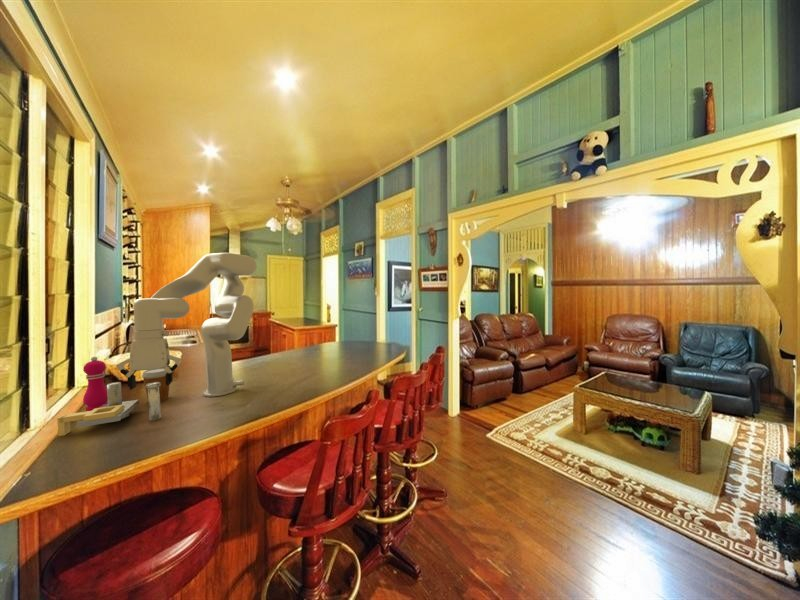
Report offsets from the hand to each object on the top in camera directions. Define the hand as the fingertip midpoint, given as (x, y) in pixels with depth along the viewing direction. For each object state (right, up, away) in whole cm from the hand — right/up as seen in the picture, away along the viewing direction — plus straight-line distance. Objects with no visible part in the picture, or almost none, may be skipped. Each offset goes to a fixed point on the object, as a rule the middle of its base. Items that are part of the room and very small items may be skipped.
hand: (150, 386), depth 105 cm
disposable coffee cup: (-14, -11, +21) cm, 28 cm away
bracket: (-14, -12, -5) cm, 20 cm away
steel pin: (+1, -11, +1) cm, 11 cm away
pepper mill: (-29, -12, +12) cm, 34 cm away
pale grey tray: (-13, -12, 0) cm, 18 cm away
